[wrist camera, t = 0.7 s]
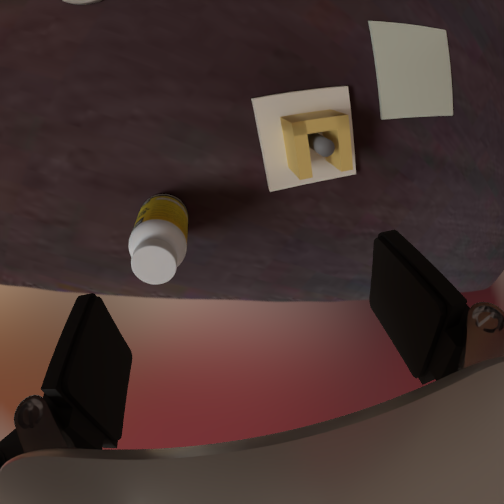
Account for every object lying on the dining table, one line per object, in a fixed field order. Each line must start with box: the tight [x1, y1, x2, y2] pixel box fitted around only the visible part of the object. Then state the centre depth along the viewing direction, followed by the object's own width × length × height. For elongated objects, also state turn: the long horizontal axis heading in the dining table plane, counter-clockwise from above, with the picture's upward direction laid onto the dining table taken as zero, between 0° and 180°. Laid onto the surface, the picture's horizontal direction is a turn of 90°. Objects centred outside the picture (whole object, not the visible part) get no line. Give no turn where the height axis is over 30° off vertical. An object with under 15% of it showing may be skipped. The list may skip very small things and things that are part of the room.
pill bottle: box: [129, 194, 188, 284], centre depth 34 cm, size 6×6×12 cm
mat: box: [368, 21, 453, 120], centre depth 32 cm, size 14×14×1 cm
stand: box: [251, 86, 356, 192], centre depth 34 cm, size 12×12×6 cm
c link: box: [280, 109, 353, 180], centre depth 33 cm, size 6×6×5 cm
